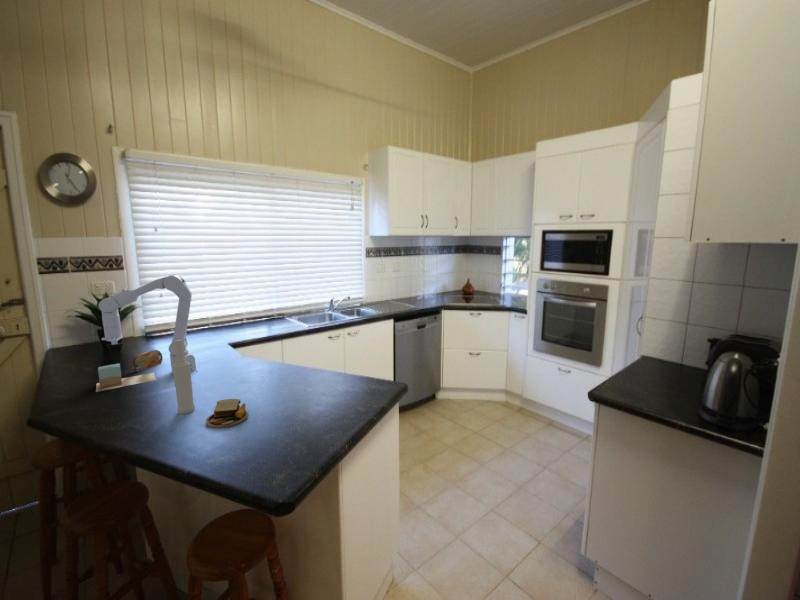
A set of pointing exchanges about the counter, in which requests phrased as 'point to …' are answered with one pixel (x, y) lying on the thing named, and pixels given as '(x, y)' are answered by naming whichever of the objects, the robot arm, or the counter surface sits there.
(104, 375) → the teal brick
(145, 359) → the tin
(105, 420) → the counter surface
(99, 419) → the counter surface
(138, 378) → the birch board
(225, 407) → the toy sandwich meal
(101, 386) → the walnut block
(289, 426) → the counter surface
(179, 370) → the bottle
